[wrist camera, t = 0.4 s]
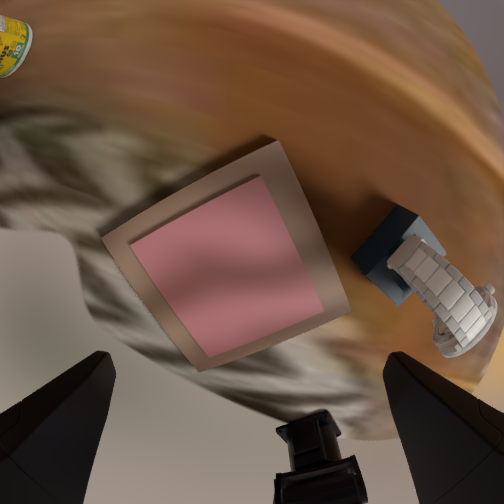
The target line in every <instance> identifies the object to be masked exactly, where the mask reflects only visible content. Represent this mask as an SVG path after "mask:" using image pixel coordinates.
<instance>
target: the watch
mask: <svg viewBox="0 0 504 504" xmlns="http://www.w3.org/2000/svg"><path fill="white" fill-rule="evenodd" d="M445 255H446V252H445V250H444V249H443V247H442V246H441V244H440V243H439V242H438V240H437V239H436V237H435V236H434V235H433V233H432V232H431V231H430V229H429V228H428V226H427V225H426V224H425V222H424V221H423V220H422V219H421V217H420V216H419V215H417V214H415V213H414V212H412V211H410V210H408V209H406V208H404V207H402V206H400V205H397V206H396V207H395V208H394V210H393V211H392V212H391V213H390V214H389V215H388V217H387V218H386V219H385V220H384V221H383V222H382V223H381V225H380V226H379V227H378V228H377V229H376V230H375V231H374V233H373V234H372V235H371V236H370V237H369V238H368V239H367V240H366V241H365V243H364V244H363V245H362V246H361V247H360V248H359V249H358V250H357V251H356V252H355V253H354V255H353V256H352V257H351V258H352V260H353V261H354V262H355V263H356V264H357V266H358V267H359V268H360V269H361V271H362V272H363V273H364V274H365V276H366V277H368V278H369V279H370V280H371V281H372V282H373V283H374V284H375V285H376V286H377V287H378V288H379V289H380V290H381V291H382V292H383V293H385V294H386V295H387V296H388V297H389V298H390V299H391V300H392V301H393V302H394V303H395V304H396V305H397V306H398V307H399V306H400V305H401V304H402V303H403V302H404V301H405V299H406V298H407V297H408V296H409V295H410V294H411V293H412V292H413V291H414V292H415V293H416V294H417V295H418V296H419V298H420V299H421V300H422V301H423V302H425V305H426V306H427V307H428V308H429V310H430V311H431V312H432V313H433V314H434V315H435V317H436V318H437V319H436V318H434V319H433V320H432V323H433V328H434V330H433V334H432V338H433V342H434V344H435V345H436V347H437V348H438V349H439V351H440V353H441V354H442V355H443V356H444V357H448V358H452V357H456V356H459V355H461V354H463V353H465V352H466V351H468V350H469V349H471V348H472V347H473V346H474V345H476V344H477V343H478V342H479V341H480V340H481V339H482V337H483V336H484V335H485V334H486V332H487V331H488V330H489V328H490V326H491V325H492V323H493V321H494V319H495V316H496V313H497V302H496V300H495V299H494V297H493V296H491V295H492V294H493V293H494V291H495V289H494V287H493V286H492V285H491V284H490V283H487V284H486V285H485V286H484V288H483V287H479V286H478V287H473V286H472V284H471V283H470V282H469V281H468V280H467V279H466V278H465V277H464V276H463V275H462V274H461V273H460V272H459V271H458V270H457V269H456V268H455V267H453V266H452V265H451V264H450V263H449V262H448V261H447V260H446V259H445V258H444V256H445ZM449 264H450V265H449ZM462 276H463V277H462ZM461 277H462V278H461ZM452 278H453V280H452ZM451 280H452V281H451ZM450 281H451V282H450ZM449 282H450V283H449ZM457 282H458V283H457ZM448 283H449V284H448Z"/></svg>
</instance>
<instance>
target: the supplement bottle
mask: <svg viewBox="0 0 504 504" xmlns="http://www.w3.org/2000/svg"><path fill="white" fill-rule="evenodd" d="M32 37H33V36H32V29H31V27H30V26H29V25H28V24H26V23H24V22H21V21H18V20H15V19H12V18H9V17H6V16H3V15H0V78H4V77H7V76H9V75H11V74H12V73H14V72H15V71H16V70H17V69H18V68H19V67H20V65H21V64H22V63H23V61H24V59H25V58H26V56H27V53H28V51H29V49H30V47H31V43H32Z"/></svg>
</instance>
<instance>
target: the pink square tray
mask: <svg viewBox="0 0 504 504" xmlns="http://www.w3.org/2000/svg"><path fill="white" fill-rule="evenodd" d="M101 239H102V241H103V243H104V244H105V246H106V247H107V249H108V251H109V252H110V254H111V255H112V257H113V258H114V260H115V261H116V263H117V265H118V266H119V268H120V269H121V271H122V272H123V274H124V275H125V277H126V278H127V280H128V281H129V282H130V284H131V285H132V287H133V288H134V290H135V291H136V293H137V294H138V295H139V297H140V298H141V300H142V301H143V302H144V304H145V305H146V306H147V308H148V309H149V311H150V312H151V313H152V315H153V316H154V317H155V319H156V320H157V321H158V323H159V324H160V325H161V327H162V328H163V329H164V330H165V332H166V333H167V334H168V336H169V337H170V338H171V339H172V341H173V342H174V343H175V344H176V346H177V347H178V348H179V349H180V350H181V352H182V353H183V354H184V355H185V357H186V358H187V359H188V360H189V361H190V363H191V364H192V365H193V366H194V367H195V368H196V370H197V371H198V372H202V371H205V370H208V369H211V368H214V367H217V366H220V365H222V364H225V363H228V362H231V361H234V360H236V359H239V358H242V357H245V356H247V355H250V354H253V353H255V352H258V351H260V350H263V349H266V348H268V347H271V346H273V345H276V344H278V343H281V342H283V341H286V340H288V339H290V338H293V337H295V336H297V335H300V334H302V333H305V332H307V331H309V330H311V329H314V328H316V327H318V326H320V325H323V324H325V323H327V322H329V321H331V320H334V319H336V318H338V317H340V316H342V315H344V314H346V313H348V312H351V308H350V305H349V303H348V300H347V297H346V294H345V292H344V289H343V286H342V284H341V281H340V279H339V276H338V273H337V271H336V268H335V266H334V263H333V261H332V258H331V256H330V253H329V251H328V248H327V246H326V243H325V241H324V238H323V236H322V234H321V231H320V229H319V226H318V224H317V222H316V219H315V217H314V215H313V212H312V210H311V208H310V206H309V203H308V201H307V199H306V197H305V194H304V192H303V190H302V188H301V186H300V183H299V181H298V179H297V177H296V175H295V173H294V170H293V168H292V166H291V164H290V162H289V160H288V158H287V156H286V154H285V152H284V149H283V147H282V145H281V143H280V141H279V140H276V141H274V142H271V143H269V144H267V145H265V146H263V147H261V148H259V149H257V150H254V151H252V152H250V153H248V154H246V155H244V156H242V157H240V158H238V159H236V160H234V161H232V162H230V163H228V164H226V165H224V166H222V167H220V168H218V169H216V170H215V171H213V172H211V173H209V174H207V175H205V176H203V177H201V178H200V179H198V180H196V181H194V182H192V183H190V184H189V185H187V186H185V187H183V188H181V189H180V190H178V191H176V192H174V193H173V194H171V195H169V196H167V197H166V198H164V199H162V200H160V201H159V202H157V203H155V204H154V205H152V206H150V207H149V208H147V209H145V210H144V211H142V212H140V213H139V214H137V215H135V216H134V217H132V218H131V219H129V220H127V221H126V222H124V223H123V224H121V225H120V226H118V227H116V228H115V229H113V230H112V231H110V232H109V233H107V234H106V235H105V236H103V237H102V238H101Z"/></svg>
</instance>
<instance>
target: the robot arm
mask: <svg viewBox="0 0 504 504" xmlns="http://www.w3.org/2000/svg"><path fill="white" fill-rule="evenodd" d="M115 378H116V371H115V367H114V365H113V361H112V359H111V356H110V354H109V353H108V352H104V351H96V352H94V353H93V354H91V355H90V356H88V357H87V358H85V359H83V360H82V361H80V362H79V363H77V364H76V365H74V366H73V367H71V368H70V369H68V370H67V371H65V372H64V373H62V374H61V375H59V376H58V377H56V378H55V379H53V380H52V381H50V382H49V383H47V384H45V385H44V386H43V387H41V388H40V389H38V390H36V391H35V392H33V393H32V394H30V395H29V396H27V397H26V398H24V399H23V400H22V402H21V401H20V402H18V403H17V404H15V405H14V406H12V407H10V408H9V409H7V410H6V411H4V412H3V413H1V414H0V504H83V502H84V498H85V494H86V489H87V485H88V481H89V477H90V474H91V470H92V466H93V462H94V459H95V455H96V452H97V448H98V445H99V442H100V438H101V435H102V431H103V428H104V425H105V422H106V419H107V415H108V411H109V406H110V401H111V396H112V392H113V387H114V382H115ZM383 380H384V384H385V388H386V392H387V396H388V400H389V405H390V409H391V413H392V416H393V419H394V422H395V425H396V428H397V431H398V434H399V437H400V440H401V443H402V446H403V449H404V452H405V455H406V458H407V462H408V465H409V468H410V472H411V475H412V478H413V482H414V485H415V489H416V493H417V496H418V500H419V504H504V413H502V412H500V411H498V410H496V409H495V408H493V407H491V406H490V405H488V404H486V403H484V402H483V401H481V400H480V399H477V398H476V397H475V396H473V395H472V394H470V393H468V392H467V391H465V390H463V389H462V388H460V387H459V386H457V385H455V384H454V383H452V382H451V381H449V380H447V379H446V378H444V377H442V376H441V375H439V374H438V373H436V372H434V371H433V370H431V369H430V368H428V367H426V366H425V365H423V364H422V363H420V362H418V361H417V360H415V359H413V358H412V357H410V356H409V355H407V354H405V353H404V352H402V351H398V352H392V353H390V354H389V356H388V359H387V362H386V364H385V367H384V369H383ZM276 432H277V434H278V435H279V436H280V437H281V438H282V439H283V440H284V441H285V442H286V443H287V444H288V451H289V459H290V466H291V472H287V473H276V479H274V486H275V494H274V500H273V504H365V503H368V497H367V492H366V488H365V484H364V481H363V478H362V474H361V471H360V469H359V466H358V463H357V460H356V457H355V455H352V456H350V457H348V458H345V459H342V458H341V454H340V450H339V446H338V442H337V438H336V437H338V436H340V435H341V431H340V429H339V427H338V426H337V424H336V422H335V421H334V419H333V417H332V415H331V414H330V412H329V411H323V412H321V413H318V414H315V415H313V416H310V417H307V418H304V419H301V420H298V421H295V422H292V423H289V424H286V425H283V426H280V427H277V428H276Z"/></svg>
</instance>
